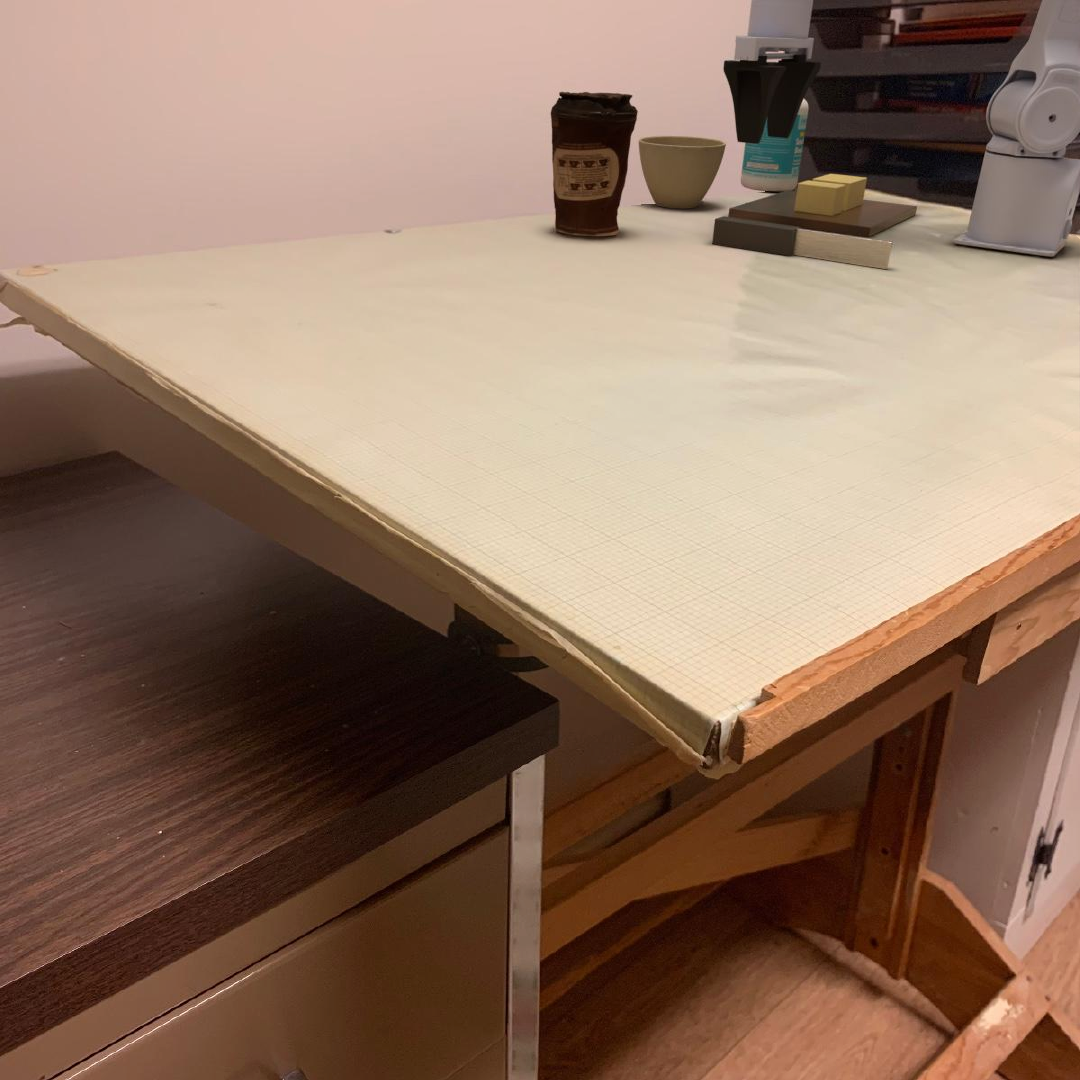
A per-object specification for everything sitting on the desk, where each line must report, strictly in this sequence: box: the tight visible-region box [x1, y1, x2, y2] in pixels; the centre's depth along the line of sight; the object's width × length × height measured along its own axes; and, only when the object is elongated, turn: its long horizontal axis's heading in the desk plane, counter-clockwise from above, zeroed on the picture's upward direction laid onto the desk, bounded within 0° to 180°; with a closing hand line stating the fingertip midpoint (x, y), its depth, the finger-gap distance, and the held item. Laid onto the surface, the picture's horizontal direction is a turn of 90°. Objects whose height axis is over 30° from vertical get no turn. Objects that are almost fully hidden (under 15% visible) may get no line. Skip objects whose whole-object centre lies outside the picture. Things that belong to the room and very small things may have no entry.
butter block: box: [812, 173, 868, 211], centre depth 114 cm, size 4×6×3 cm
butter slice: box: [794, 180, 846, 216], centre depth 109 cm, size 4×3×3 cm
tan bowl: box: [638, 135, 727, 209], centre depth 115 cm, size 10×10×7 cm
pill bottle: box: [740, 98, 810, 193], centre depth 128 cm, size 8×7×14 cm
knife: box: [711, 216, 894, 270], centre depth 93 cm, size 17×2×2 cm, turn 56°
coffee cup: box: [550, 91, 639, 237], centre depth 97 cm, size 9×8×13 cm
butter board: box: [727, 190, 918, 238], centre depth 114 cm, size 16×18×1 cm
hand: (763, 140), depth 99 cm, fingers open, 7 cm apart
